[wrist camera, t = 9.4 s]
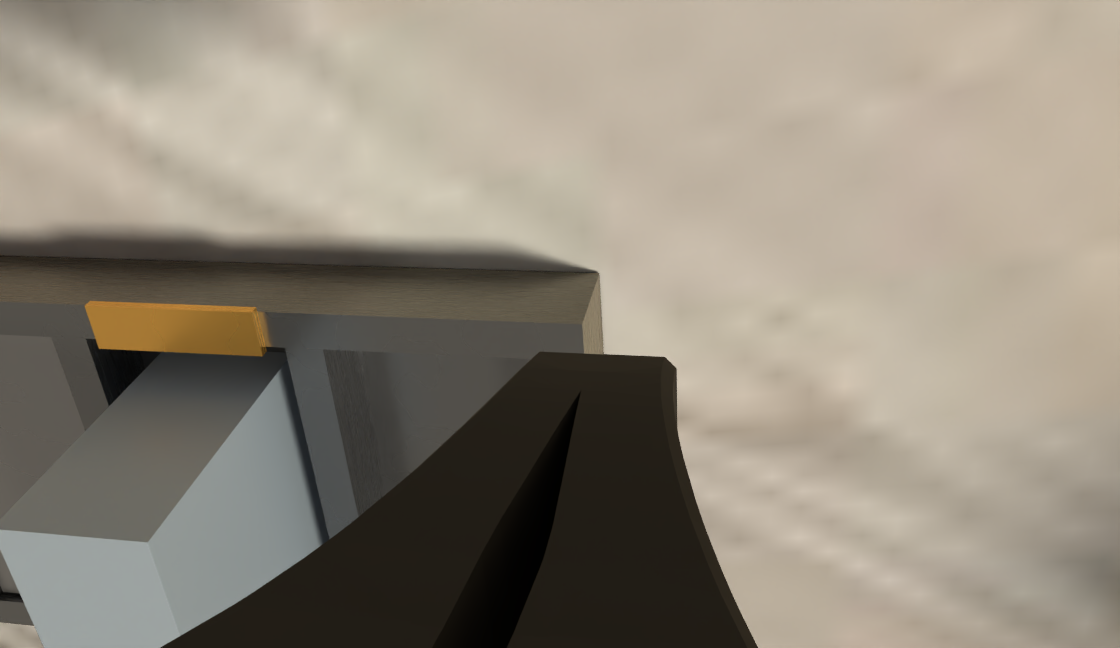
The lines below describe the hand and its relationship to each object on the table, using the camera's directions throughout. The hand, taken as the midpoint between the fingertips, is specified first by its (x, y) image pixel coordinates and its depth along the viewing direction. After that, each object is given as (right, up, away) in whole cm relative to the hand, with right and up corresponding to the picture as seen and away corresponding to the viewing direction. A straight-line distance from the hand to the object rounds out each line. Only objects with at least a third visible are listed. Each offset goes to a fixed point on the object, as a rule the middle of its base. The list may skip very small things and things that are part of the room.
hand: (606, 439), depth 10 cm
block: (-7, -2, +14) cm, 16 cm away
